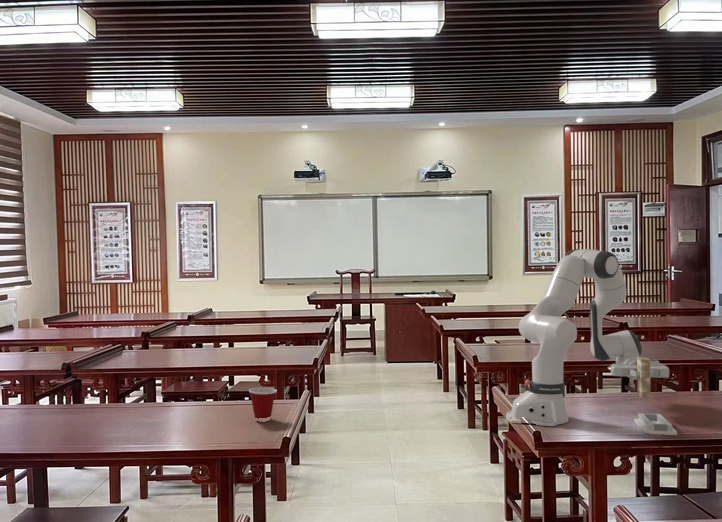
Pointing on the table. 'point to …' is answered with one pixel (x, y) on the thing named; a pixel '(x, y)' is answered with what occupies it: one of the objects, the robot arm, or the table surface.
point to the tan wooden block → (643, 377)
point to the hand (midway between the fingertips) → (644, 374)
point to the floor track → (654, 424)
